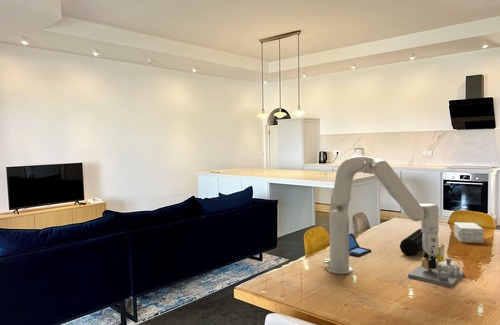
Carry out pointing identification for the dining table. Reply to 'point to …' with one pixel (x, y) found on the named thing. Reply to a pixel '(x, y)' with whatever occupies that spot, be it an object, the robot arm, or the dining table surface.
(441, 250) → the supplement box
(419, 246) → the roller
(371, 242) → the dining table surface
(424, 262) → the brass gear
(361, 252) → the handheld game console
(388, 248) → the dining table surface
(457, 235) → the supplement box
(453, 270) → the gear board
